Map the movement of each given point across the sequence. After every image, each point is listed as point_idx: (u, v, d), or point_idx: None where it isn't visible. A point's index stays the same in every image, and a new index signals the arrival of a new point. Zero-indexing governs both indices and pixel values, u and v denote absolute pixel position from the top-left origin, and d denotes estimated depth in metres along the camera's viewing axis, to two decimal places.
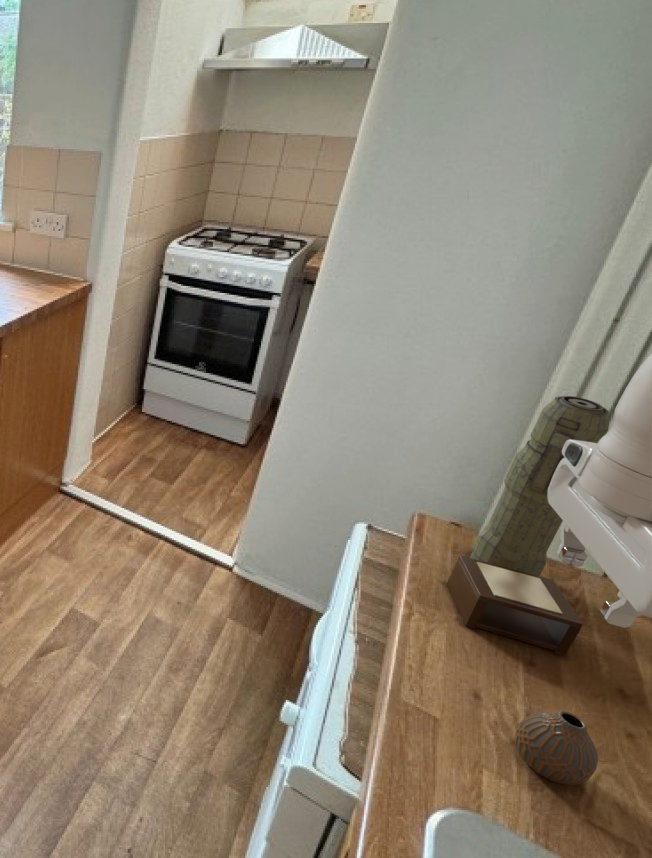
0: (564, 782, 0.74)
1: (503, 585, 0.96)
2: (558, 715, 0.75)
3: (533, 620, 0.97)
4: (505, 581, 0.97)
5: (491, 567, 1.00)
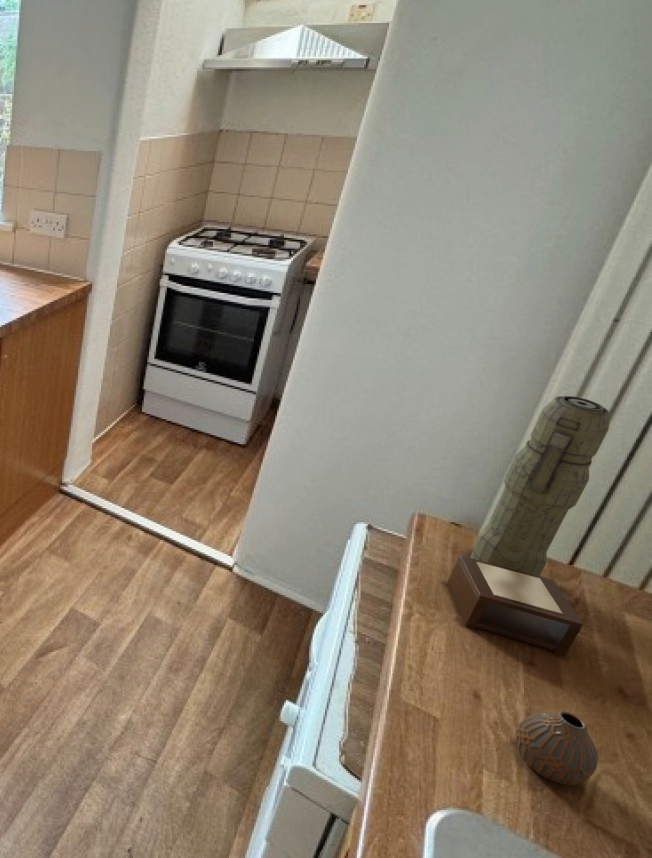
0: (564, 782, 0.74)
1: (503, 585, 0.96)
2: (558, 715, 0.75)
3: (533, 620, 0.97)
4: (505, 581, 0.97)
5: (491, 567, 1.00)
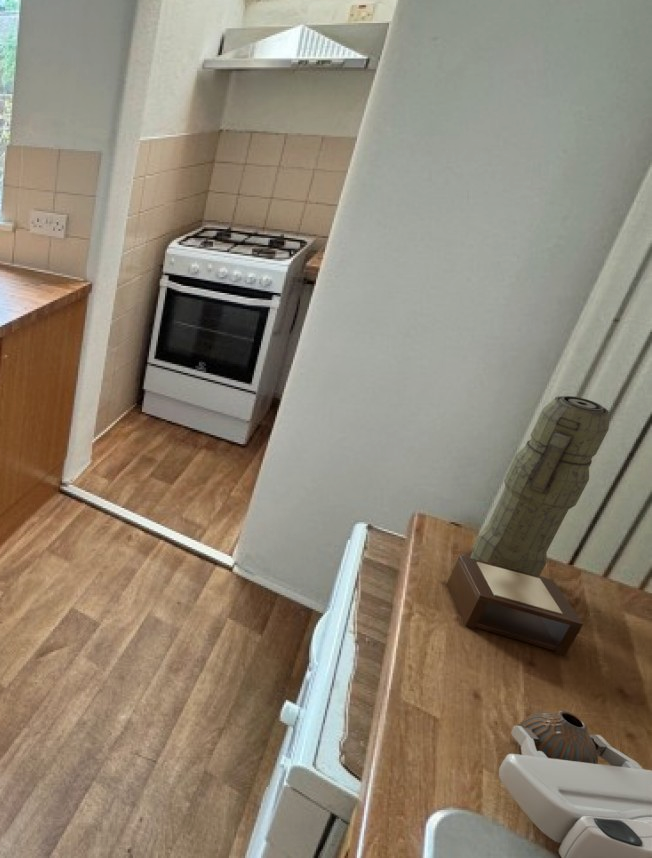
0: None
1: (503, 585, 0.96)
2: (558, 715, 0.75)
3: (533, 620, 0.97)
4: (505, 581, 0.97)
5: (491, 567, 1.00)
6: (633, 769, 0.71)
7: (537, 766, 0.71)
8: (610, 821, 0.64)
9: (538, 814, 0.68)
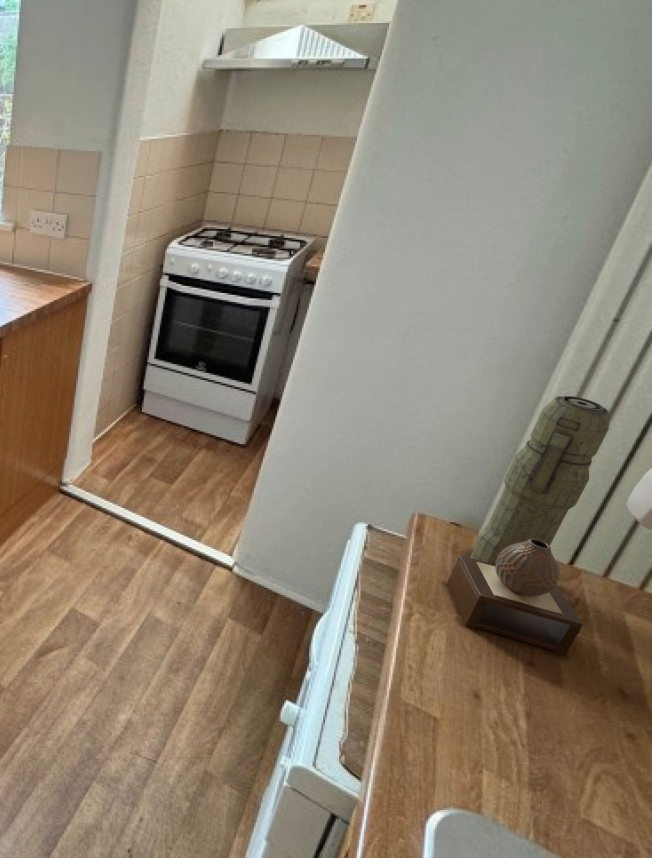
0: (516, 587, 0.94)
1: (503, 585, 0.96)
2: (529, 539, 0.94)
3: (533, 620, 0.97)
4: None
5: (491, 567, 1.00)
6: None
7: None
8: None
9: None
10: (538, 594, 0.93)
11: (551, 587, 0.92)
